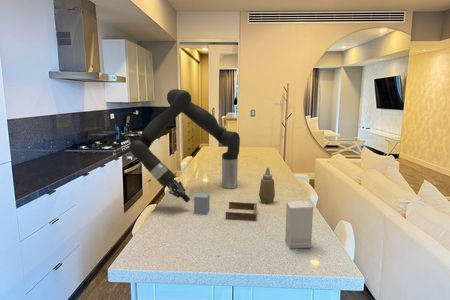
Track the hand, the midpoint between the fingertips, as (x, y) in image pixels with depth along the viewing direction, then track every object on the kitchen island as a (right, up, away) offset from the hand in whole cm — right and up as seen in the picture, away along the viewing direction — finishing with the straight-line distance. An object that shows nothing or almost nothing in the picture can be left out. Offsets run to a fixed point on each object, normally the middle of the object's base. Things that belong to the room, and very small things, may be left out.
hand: (188, 200), depth 140 cm
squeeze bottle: (+38, -3, +14) cm, 41 cm away
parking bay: (+24, -6, -2) cm, 25 cm away
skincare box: (+43, -11, -31) cm, 54 cm away
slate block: (+6, -5, 0) cm, 8 cm away
